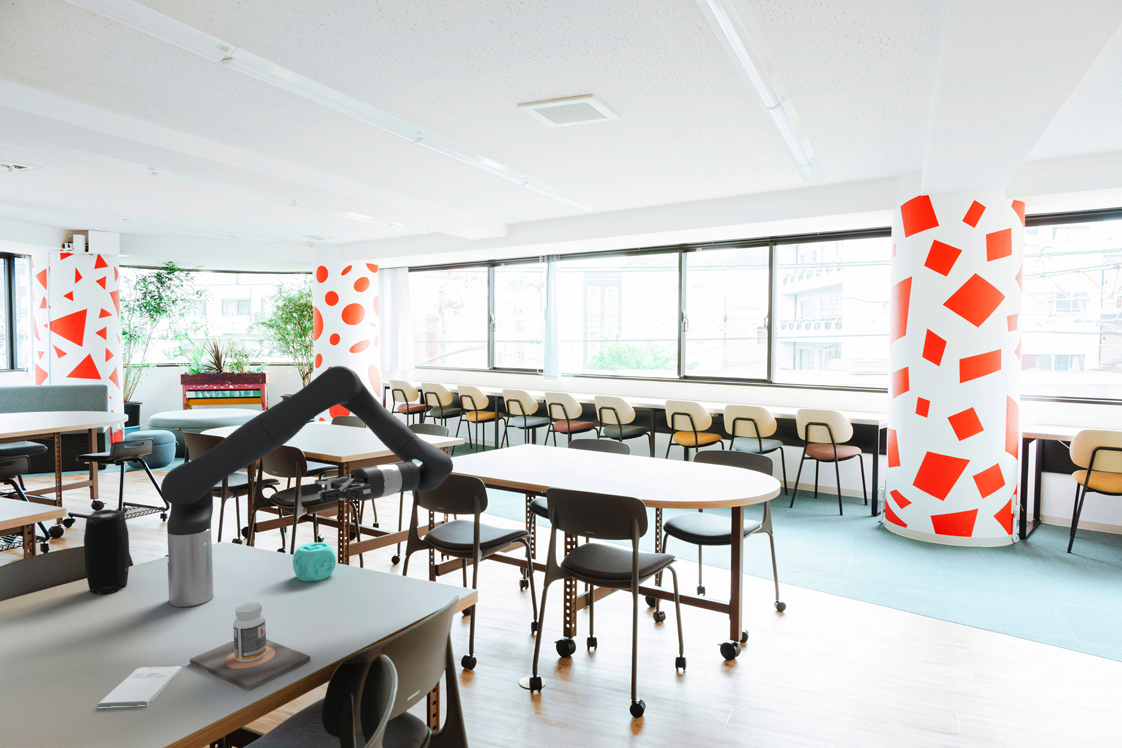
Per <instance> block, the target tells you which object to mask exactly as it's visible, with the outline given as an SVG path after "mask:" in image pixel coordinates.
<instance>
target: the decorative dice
mask: <svg viewBox="0 0 1122 748" xmlns="http://www.w3.org/2000/svg"><path fill="white" fill-rule="evenodd" d="M336 560H337V559H336V555H335V551H334V549H333V547H332V546H331V545H330V544H328V543H327V542H321V541H320V542H310V543H305V544H302V545H301V546H299V547H298V548H297V549H296V550H295V552H294V554H293V557H292V566H293V571H294V573H295V576H296V577H297V578H298V580H299V581H301V580H302V582H306V581H313V582H319V580H320V581H323V580H325V579H328V578H329V577H330V576H331V575H332V574H333V572H334V570H335V568H336V563H337V562H336ZM331 563H332V564H331Z"/></svg>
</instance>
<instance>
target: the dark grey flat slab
mask: <svg viewBox="0 0 1122 748" xmlns="http://www.w3.org/2000/svg"><path fill="white" fill-rule="evenodd" d="M310 661H311V656H310V655H308V654H306V653H303V652H300V651H298V650H295V649H293V648H292V647H291V648H290V647H287V646H285V645H282V644H280V643H278V642H274V641H271V640H269V639H267V638H266V654H265V655H264V656H263V657H262V658H260V659H258V660H255V661H251V662H239V661H237V660H236V659H235V653H234V640H233V641H232V640H231V641H230V642H227V643H224V644H222V645H220V646H218V647H215V648H213V649H211V650H208V651H205V652H203V653H201V654H198V655H195V656H194V657H191V658H189V664H190V663H191V664H193V665H195V666H194V667H196V666H197V667H196V668H198V667H199V668H198V669H200V668H201V669H200V670H202V669H203V671H204V670H206V671H205V672H207V671H208V672H207V673H209V672H210V673H209V674H211V673H212V674H211V675H213V674H214V676H215V675H216V677H217V678H220V679H221V680H224V681H227V682H228V683H231V684H232V685H236V686H237V685H238V687H240V688H242V687H243V688H242V689H244V688H245V689H244V690H246V689H247V690H246V691H248V690H249V691H251V690H255V689H256V688H258V687H260V686H262V685H264V684H266V683H268V682H270V681H272V680H275V679H276V678H278V677H280V676H283V675H284V674H286V673H289V672H291V671H294V669H297V668H298V667H301V666H302V665H304V664H307V663H309V662H310ZM191 664H190V665H191ZM193 665H192V666H193Z"/></svg>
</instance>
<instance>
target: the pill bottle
mask: <svg viewBox="0 0 1122 748" xmlns="http://www.w3.org/2000/svg"><path fill="white" fill-rule="evenodd" d="M262 611H263V605H262V604H261V603H260V602H246V603H244V604H243V603H242V604H241V605H237V606H236V608H235V616H236V619H235V620H234V622H233V628H232V629H233V641H234V653H235V659H236V660H237V661H239V662H251V661H255V660H258V659H260V658H262V657H263V656H264V655H265V654H266V639H267V637H266V635H267V634H266V633H267V632H266V618H265V616H264V615H263V614H262Z"/></svg>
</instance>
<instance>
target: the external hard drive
mask: <svg viewBox="0 0 1122 748" xmlns="http://www.w3.org/2000/svg"><path fill="white" fill-rule="evenodd" d="M181 670H182V666H180V665H178V666H177V665H176V666H152V667H151V666H148V667H146V666H145V667H138V668H136V669H135V670H133V672H131V673H130V674H129V675H128V676H127V677H125V679H123V681H121V683H120V682H119V684H118V685H116V687H115V688H114V689H113V690H111V691H110V692H109V693H108V694H107V695H106V696H105V697H104V698H103V699H102V700H101V701H100V702H98V703H97V708H98V707H111V706H138V705H146V706H147V705H148V704H149V703H150V702H151V701H152V700H153V699H154V698H155V697H156V695H157V694H159V692H160V691H161V690H162V689H163V688H164V687H165V686H166V685H167V684H168V683H169V682H170V680H172V679H173V678H174V676H175V675H176V674H177V673H179V672H180V671H181ZM182 671H183V670H182ZM182 671H181V672H182ZM181 672H180V673H181ZM180 673H179V674H180ZM174 679H175V678H174ZM174 679H173V680H174ZM173 680H172V681H173ZM170 683H171V682H170ZM159 695H160V694H159ZM156 698H157V697H156ZM156 698H155V699H156ZM155 699H154V700H155ZM154 700H153V701H154ZM153 701H152V702H153ZM152 702H151V703H152ZM151 703H150V704H151ZM150 704H149V705H150ZM147 707H148V706H147Z"/></svg>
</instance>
